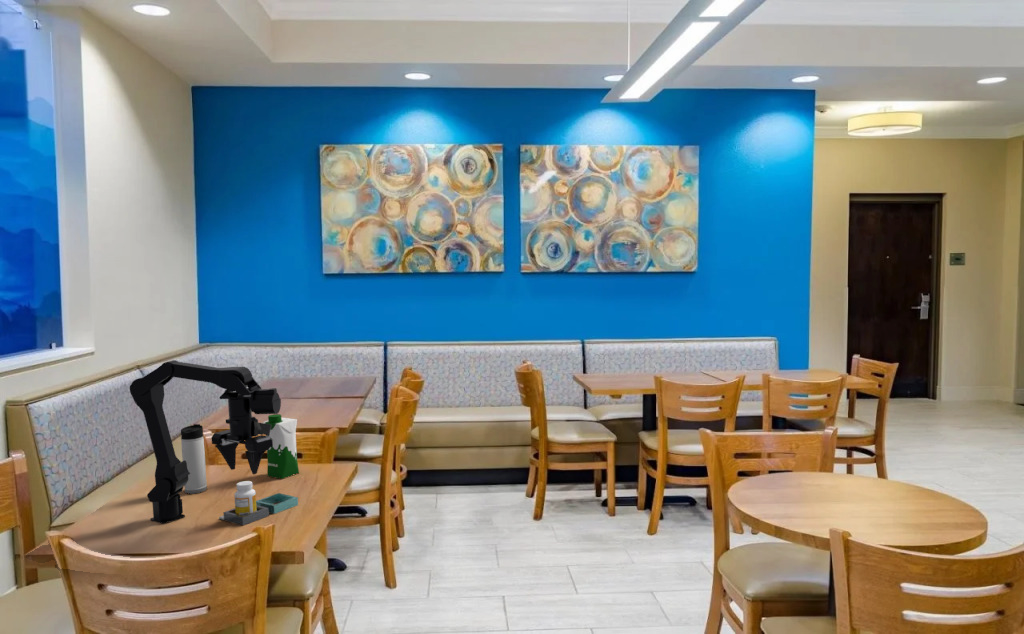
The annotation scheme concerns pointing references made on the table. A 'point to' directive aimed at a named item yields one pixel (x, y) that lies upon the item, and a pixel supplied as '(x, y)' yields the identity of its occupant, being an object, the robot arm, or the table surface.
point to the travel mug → (194, 458)
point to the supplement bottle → (245, 498)
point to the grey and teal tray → (262, 509)
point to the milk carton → (282, 447)
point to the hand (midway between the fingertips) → (243, 471)
